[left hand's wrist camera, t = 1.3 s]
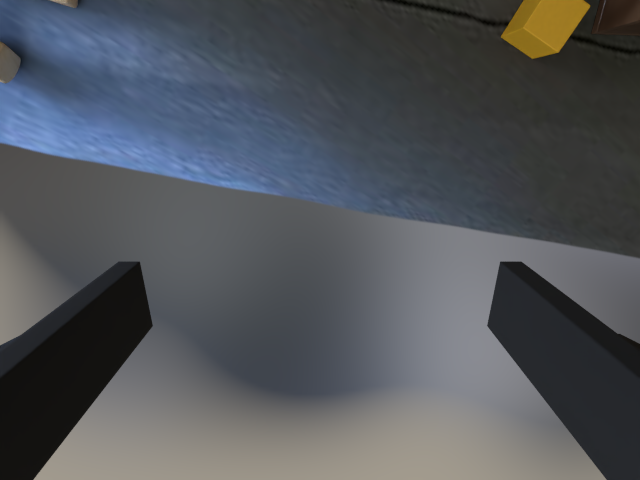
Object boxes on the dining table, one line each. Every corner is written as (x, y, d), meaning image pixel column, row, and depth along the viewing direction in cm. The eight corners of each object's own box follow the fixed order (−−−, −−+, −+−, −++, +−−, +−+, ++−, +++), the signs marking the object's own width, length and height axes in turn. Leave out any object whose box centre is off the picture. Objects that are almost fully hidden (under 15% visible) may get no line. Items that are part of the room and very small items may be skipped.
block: (532, 59, 35) (558, 52, 31) (500, 37, 34) (523, 27, 30) (560, 17, 34) (591, 5, 30) (527, -7, 33) (555, -22, 29)
